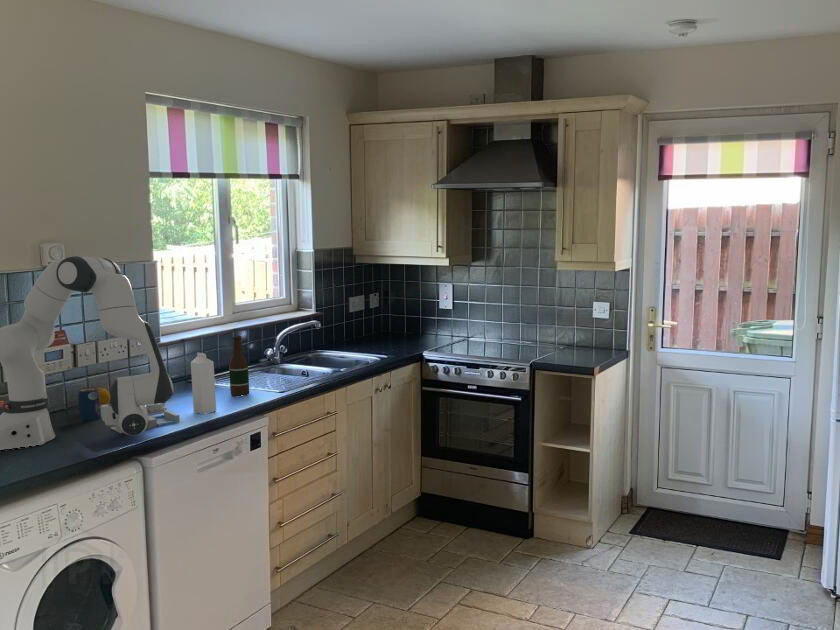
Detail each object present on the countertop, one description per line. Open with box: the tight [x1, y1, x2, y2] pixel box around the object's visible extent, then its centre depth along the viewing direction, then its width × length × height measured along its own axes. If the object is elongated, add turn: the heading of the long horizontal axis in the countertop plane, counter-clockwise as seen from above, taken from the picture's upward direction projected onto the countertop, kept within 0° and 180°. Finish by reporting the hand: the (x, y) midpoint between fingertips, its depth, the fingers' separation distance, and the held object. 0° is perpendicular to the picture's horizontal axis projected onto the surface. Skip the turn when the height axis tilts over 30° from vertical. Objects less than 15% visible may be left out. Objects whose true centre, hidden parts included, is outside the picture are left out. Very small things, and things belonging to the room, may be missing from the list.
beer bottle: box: [228, 334, 250, 397], centre depth 320 cm, size 8×8×24 cm
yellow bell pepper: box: [96, 387, 111, 413], centre depth 300 cm, size 8×8×9 cm
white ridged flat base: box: [110, 409, 184, 434], centre depth 272 cm, size 22×12×4 cm, turn 130°
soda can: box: [77, 387, 102, 423], centre depth 283 cm, size 7×7×12 cm
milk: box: [190, 352, 217, 415], centre depth 293 cm, size 6×6×22 cm
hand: (133, 403), depth 269 cm, fingers closed on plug, 4 cm apart
